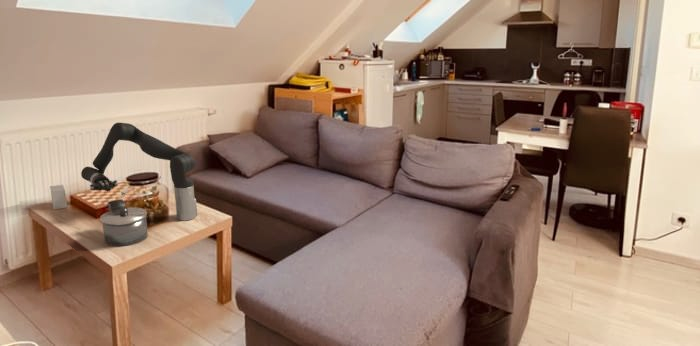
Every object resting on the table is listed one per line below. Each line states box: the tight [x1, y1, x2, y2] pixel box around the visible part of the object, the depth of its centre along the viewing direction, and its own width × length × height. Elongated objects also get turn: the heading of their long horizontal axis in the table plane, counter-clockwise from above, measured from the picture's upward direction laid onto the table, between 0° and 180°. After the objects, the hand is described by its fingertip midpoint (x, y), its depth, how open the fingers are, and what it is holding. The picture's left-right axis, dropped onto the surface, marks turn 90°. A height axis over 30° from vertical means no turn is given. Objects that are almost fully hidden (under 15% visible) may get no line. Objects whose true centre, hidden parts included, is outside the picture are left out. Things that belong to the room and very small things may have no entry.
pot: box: [101, 216, 149, 247], centre depth 212 cm, size 18×18×10 cm
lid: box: [99, 199, 147, 225], centre depth 212 cm, size 19×24×4 cm
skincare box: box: [49, 184, 68, 210], centre depth 250 cm, size 10×6×10 cm, turn 35°
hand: (108, 189), depth 227 cm, fingers closed
